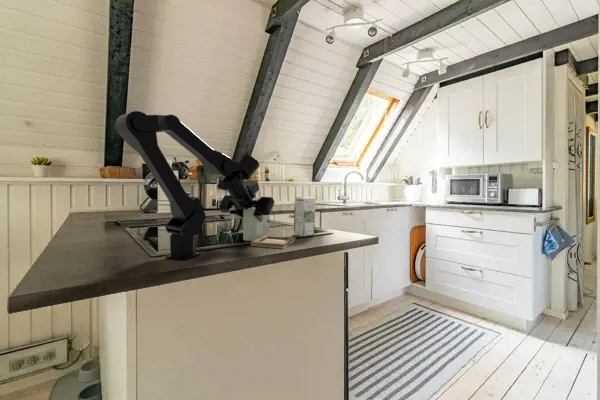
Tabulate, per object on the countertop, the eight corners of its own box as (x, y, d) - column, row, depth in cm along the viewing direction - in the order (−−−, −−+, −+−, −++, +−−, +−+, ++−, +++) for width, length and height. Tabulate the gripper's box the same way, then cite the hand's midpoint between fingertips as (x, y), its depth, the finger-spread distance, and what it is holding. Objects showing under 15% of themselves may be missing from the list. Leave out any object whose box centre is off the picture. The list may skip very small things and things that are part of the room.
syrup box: (304, 233, 117) (305, 196, 116) (314, 235, 112) (315, 197, 111) (293, 234, 113) (293, 196, 112) (303, 237, 109) (304, 197, 108)
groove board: (283, 248, 91) (283, 244, 91) (250, 245, 94) (250, 241, 94) (295, 240, 102) (295, 237, 102) (265, 238, 106) (265, 235, 106)
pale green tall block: (256, 241, 101) (256, 209, 100) (243, 240, 102) (243, 208, 101) (262, 238, 105) (262, 207, 105) (249, 237, 107) (250, 207, 106)
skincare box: (256, 237, 107) (257, 204, 106) (249, 236, 110) (249, 203, 109) (270, 235, 111) (270, 203, 110) (263, 234, 114) (263, 202, 113)
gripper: (272, 172, 95) (286, 203, 106) (223, 171, 102) (241, 201, 113) (259, 198, 88) (276, 229, 99) (208, 195, 95) (229, 225, 106)
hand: (255, 220), depth 105 cm, fingers closed on pale green tall block, 5 cm apart
